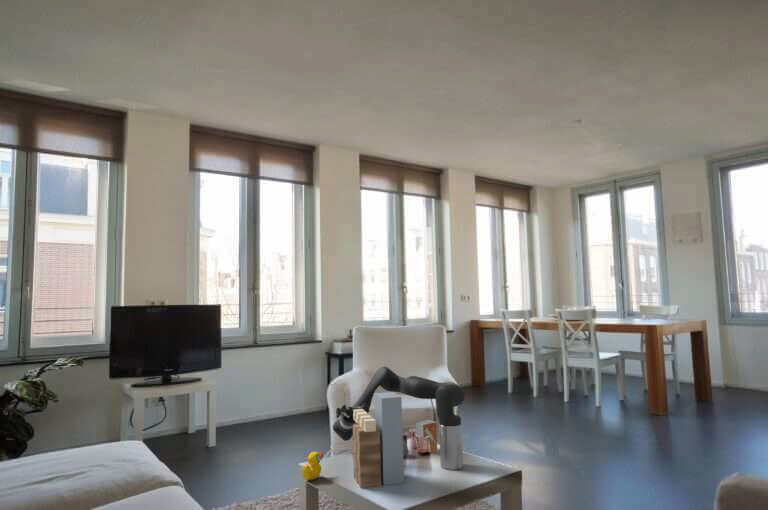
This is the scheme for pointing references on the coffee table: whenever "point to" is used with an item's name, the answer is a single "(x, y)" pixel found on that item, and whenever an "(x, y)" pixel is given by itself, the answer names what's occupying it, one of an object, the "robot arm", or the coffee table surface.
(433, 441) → the small box
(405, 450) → the mineral specimen
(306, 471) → the duckling
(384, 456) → the tall tower
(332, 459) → the coffee table surface
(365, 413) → the beam
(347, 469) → the coffee table surface
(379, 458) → the brown wooden block
